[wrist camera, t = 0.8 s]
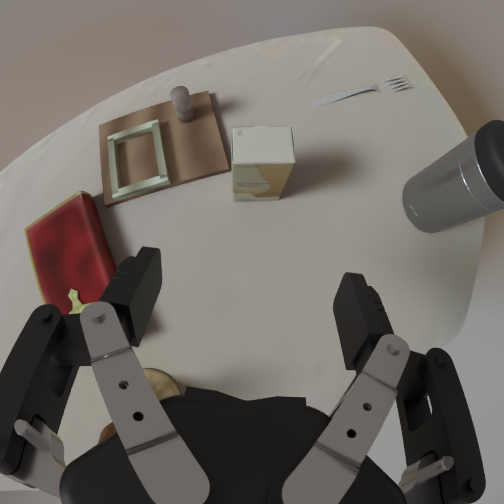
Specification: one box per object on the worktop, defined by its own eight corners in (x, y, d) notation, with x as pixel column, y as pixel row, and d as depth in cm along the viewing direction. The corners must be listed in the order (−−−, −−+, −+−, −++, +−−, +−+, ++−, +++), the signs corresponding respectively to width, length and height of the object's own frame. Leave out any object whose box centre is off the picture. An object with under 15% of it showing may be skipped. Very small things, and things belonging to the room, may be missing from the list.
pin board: (208, 94, 40) (204, 65, 34) (229, 171, 39) (226, 148, 32) (101, 128, 39) (83, 106, 33) (107, 207, 38) (84, 192, 31)
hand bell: (140, 426, 34) (94, 484, 18) (116, 375, 35) (53, 415, 19) (191, 415, 35) (163, 480, 19) (167, 361, 36) (120, 403, 20)
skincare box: (232, 202, 38) (227, 164, 26) (232, 171, 39) (227, 125, 27) (281, 201, 39) (297, 163, 26) (279, 170, 39) (293, 124, 27)
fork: (289, 102, 41) (291, 96, 39) (399, 78, 43) (403, 72, 41) (299, 118, 41) (301, 111, 39) (409, 90, 43) (413, 85, 41)
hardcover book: (95, 197, 39) (81, 188, 34) (146, 333, 36) (135, 337, 32) (38, 233, 38) (23, 228, 33) (81, 360, 36) (67, 366, 31)
